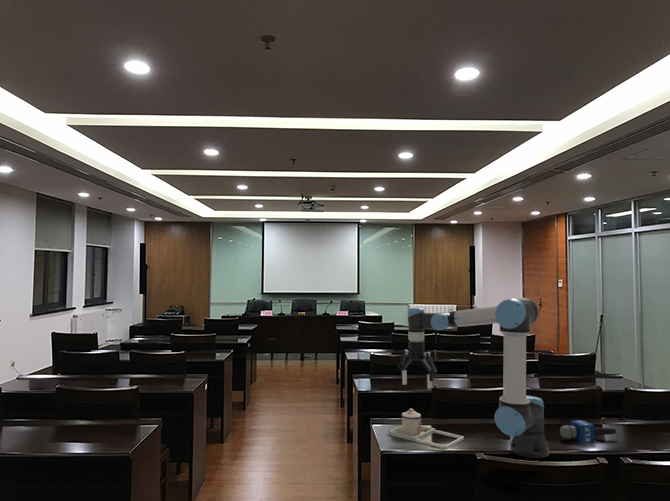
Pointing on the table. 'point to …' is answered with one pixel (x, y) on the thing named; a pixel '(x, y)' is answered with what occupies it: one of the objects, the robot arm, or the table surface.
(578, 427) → the microphone
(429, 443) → the divided tray
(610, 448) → the table surface
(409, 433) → the teacup with lid
